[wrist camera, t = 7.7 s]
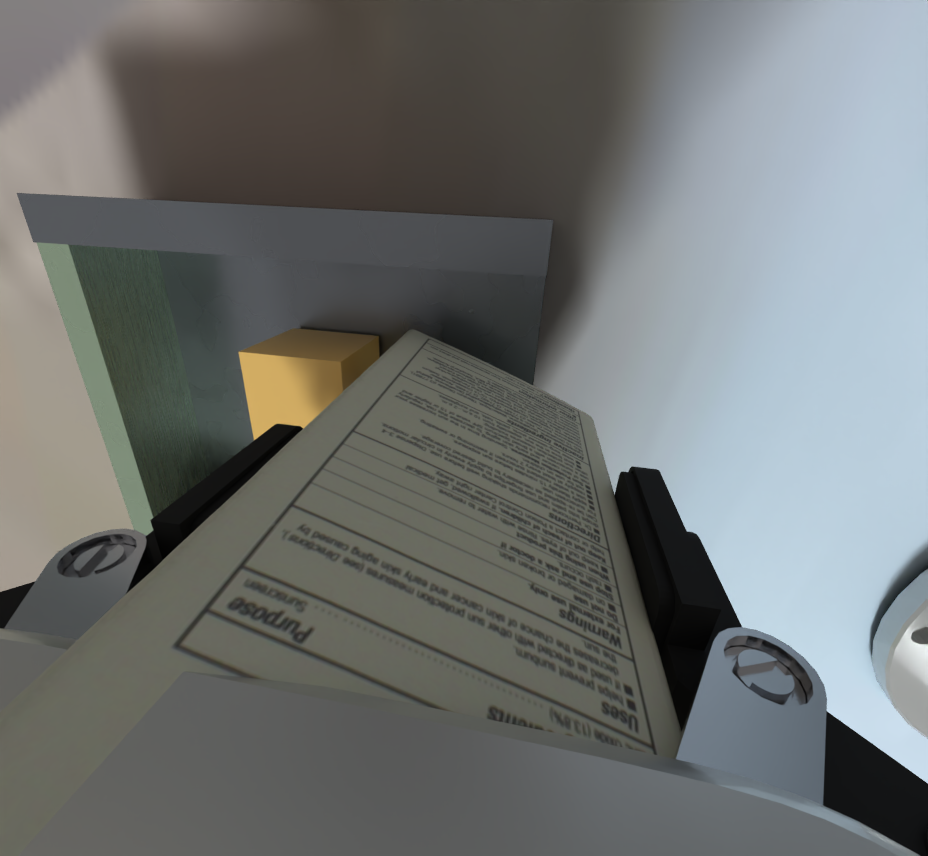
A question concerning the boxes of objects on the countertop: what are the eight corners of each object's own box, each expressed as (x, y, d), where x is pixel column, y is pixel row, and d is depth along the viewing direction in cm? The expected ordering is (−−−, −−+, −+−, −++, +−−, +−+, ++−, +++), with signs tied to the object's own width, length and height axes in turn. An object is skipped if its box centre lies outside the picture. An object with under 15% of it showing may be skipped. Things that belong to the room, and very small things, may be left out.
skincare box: (364, 438, 15) (-139, 1048, 4) (412, 321, 13) (-327, 888, 2) (535, 522, 15) (507, 1308, 4) (607, 420, 13) (897, 1394, 2)
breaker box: (552, 220, 14) (552, 219, 10) (514, 536, 19) (505, 620, 15) (152, 199, 16) (16, 193, 12) (218, 493, 21) (141, 557, 17)
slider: (378, 335, 15) (340, 361, 12) (383, 467, 17) (351, 514, 14) (293, 328, 15) (238, 351, 12) (308, 457, 17) (265, 501, 15)
